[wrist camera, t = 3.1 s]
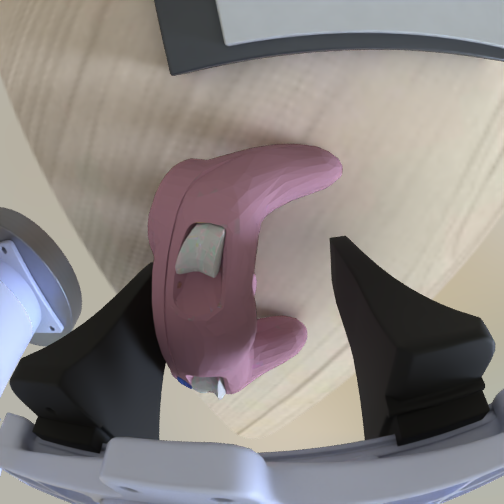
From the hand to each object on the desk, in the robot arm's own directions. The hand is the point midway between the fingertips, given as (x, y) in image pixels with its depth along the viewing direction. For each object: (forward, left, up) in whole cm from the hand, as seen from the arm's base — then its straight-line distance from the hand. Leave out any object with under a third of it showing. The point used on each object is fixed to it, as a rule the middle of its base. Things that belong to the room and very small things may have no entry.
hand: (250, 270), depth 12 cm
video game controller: (0, 0, -2) cm, 2 cm away
